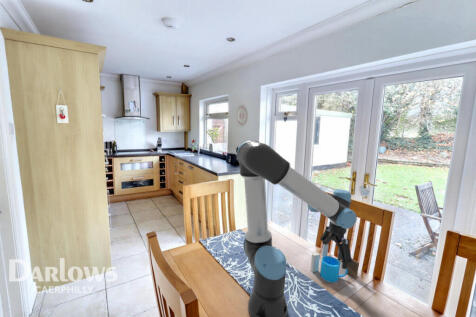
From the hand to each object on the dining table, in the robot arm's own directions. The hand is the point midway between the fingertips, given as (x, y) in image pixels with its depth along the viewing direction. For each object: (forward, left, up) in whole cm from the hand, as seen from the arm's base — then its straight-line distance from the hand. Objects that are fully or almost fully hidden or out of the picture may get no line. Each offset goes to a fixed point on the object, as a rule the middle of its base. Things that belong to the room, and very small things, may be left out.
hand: (332, 264), depth 107 cm
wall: (+5, -3, -6) cm, 9 cm away
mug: (-1, 0, -6) cm, 6 cm away
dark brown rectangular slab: (0, -10, -6) cm, 12 cm away
